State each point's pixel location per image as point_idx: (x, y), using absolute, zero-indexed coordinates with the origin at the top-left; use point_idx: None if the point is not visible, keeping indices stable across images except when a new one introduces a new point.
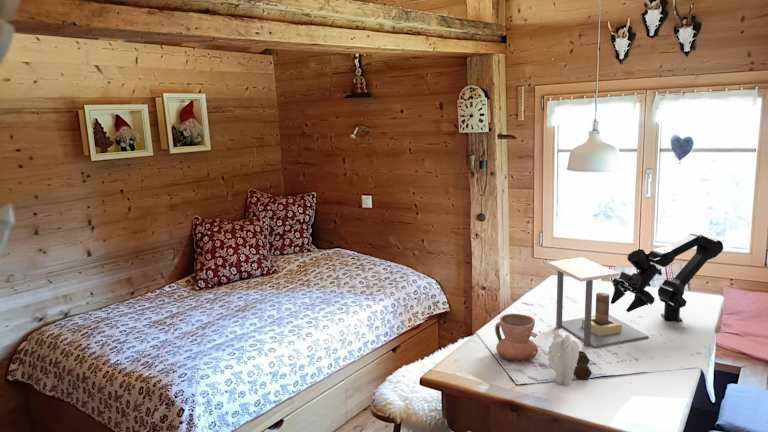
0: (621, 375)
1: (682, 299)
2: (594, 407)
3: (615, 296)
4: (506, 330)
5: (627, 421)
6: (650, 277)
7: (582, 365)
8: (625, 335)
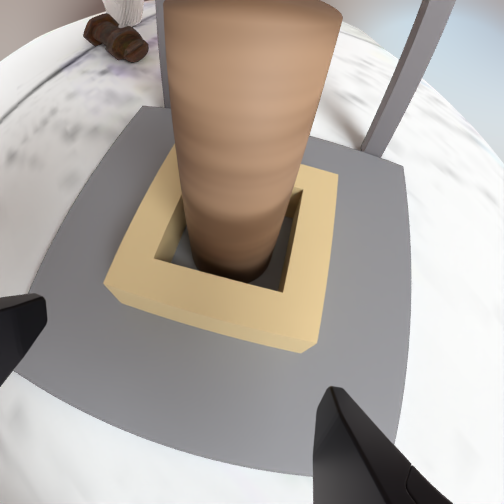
0: (36, 87)
1: None
2: (62, 33)
3: (354, 474)
4: None
5: (21, 49)
6: None
7: (98, 16)
8: (81, 273)
